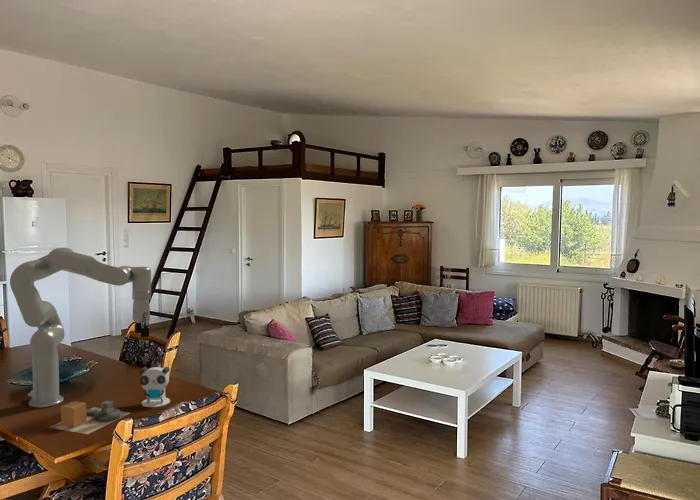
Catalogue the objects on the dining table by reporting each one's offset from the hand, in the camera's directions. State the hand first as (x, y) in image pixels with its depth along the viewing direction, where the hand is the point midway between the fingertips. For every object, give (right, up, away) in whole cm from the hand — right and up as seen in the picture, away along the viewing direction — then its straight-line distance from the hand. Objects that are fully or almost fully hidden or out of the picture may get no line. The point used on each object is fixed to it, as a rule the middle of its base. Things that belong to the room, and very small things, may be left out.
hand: (141, 334), depth 229 cm
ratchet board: (-9, -30, -25) cm, 40 cm away
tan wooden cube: (-14, -29, -29) cm, 43 cm away
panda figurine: (+7, -28, -4) cm, 29 cm away
